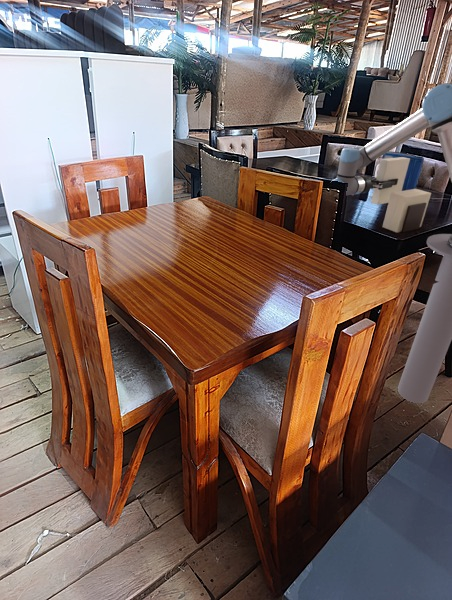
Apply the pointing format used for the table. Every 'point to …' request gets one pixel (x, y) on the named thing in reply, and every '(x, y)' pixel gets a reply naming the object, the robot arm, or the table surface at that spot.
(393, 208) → the cream upright block
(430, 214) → the table surface
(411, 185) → the book
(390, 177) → the cream book
